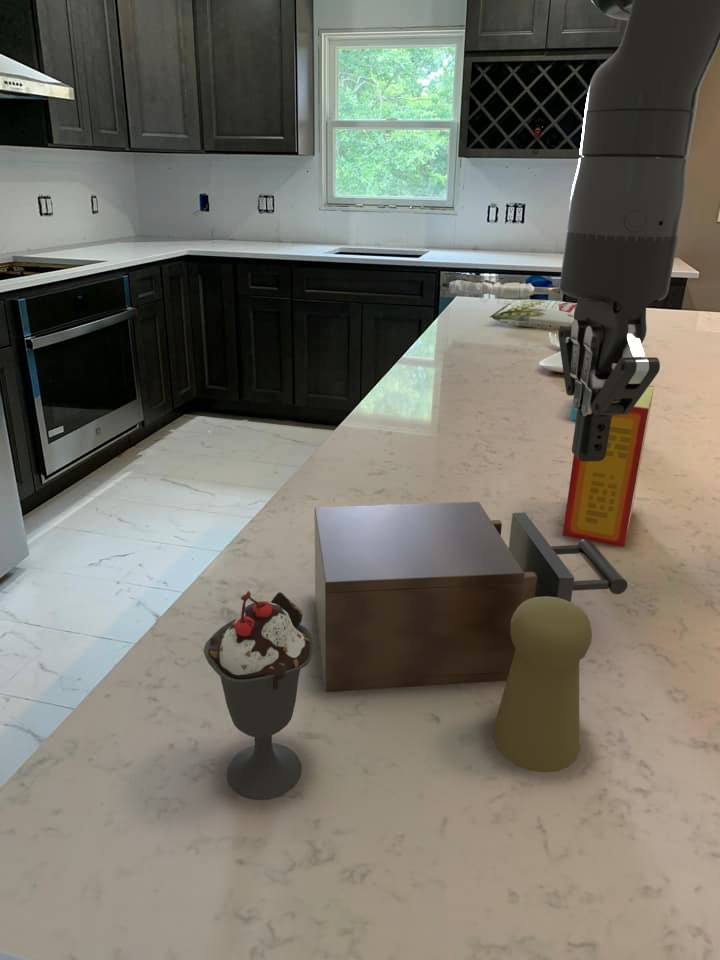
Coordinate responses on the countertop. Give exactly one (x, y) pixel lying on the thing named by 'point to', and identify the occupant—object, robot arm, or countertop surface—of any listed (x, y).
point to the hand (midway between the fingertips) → (587, 457)
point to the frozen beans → (537, 314)
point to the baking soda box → (609, 481)
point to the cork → (543, 685)
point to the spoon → (553, 357)
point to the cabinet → (413, 596)
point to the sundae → (262, 690)
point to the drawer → (556, 563)
